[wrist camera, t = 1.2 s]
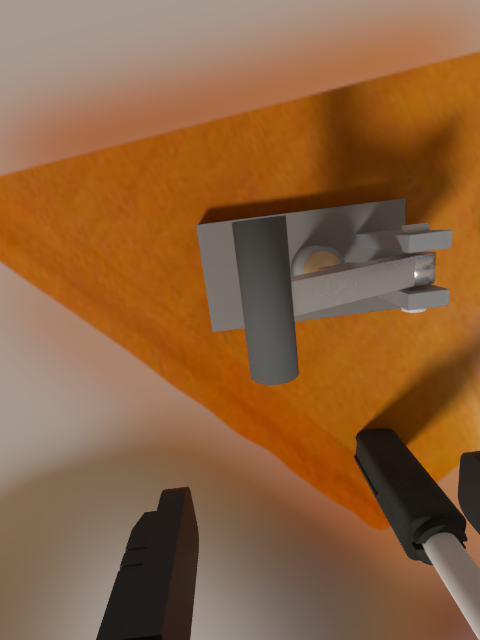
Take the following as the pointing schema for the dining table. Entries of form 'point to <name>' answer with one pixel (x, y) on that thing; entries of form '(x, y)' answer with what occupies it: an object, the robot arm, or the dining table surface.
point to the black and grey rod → (420, 515)
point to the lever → (303, 291)
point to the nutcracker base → (298, 236)
